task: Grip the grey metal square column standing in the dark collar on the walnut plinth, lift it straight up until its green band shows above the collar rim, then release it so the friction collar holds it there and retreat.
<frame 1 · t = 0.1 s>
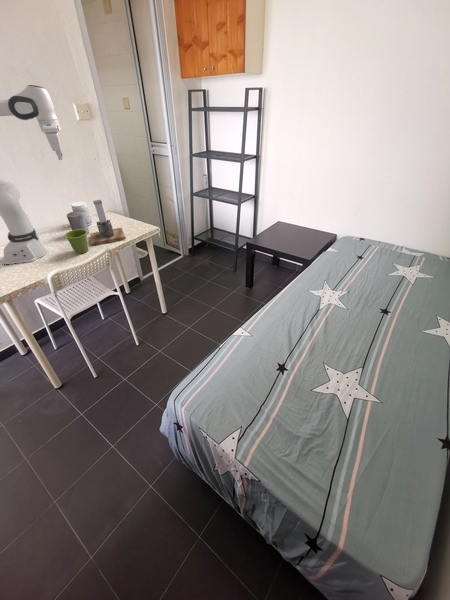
hand: (60, 158, 145), 48 cm above the table, fingers open, 8 cm apart
stand: (108, 237, 180), on the table
supplement tub: (85, 224, 200), on the table
column: (102, 218, 173), point 13 cm above the table, slide at 0.0 cm
plant pot: (82, 251, 166), on the table
pillar candle: (82, 234, 187), on the table
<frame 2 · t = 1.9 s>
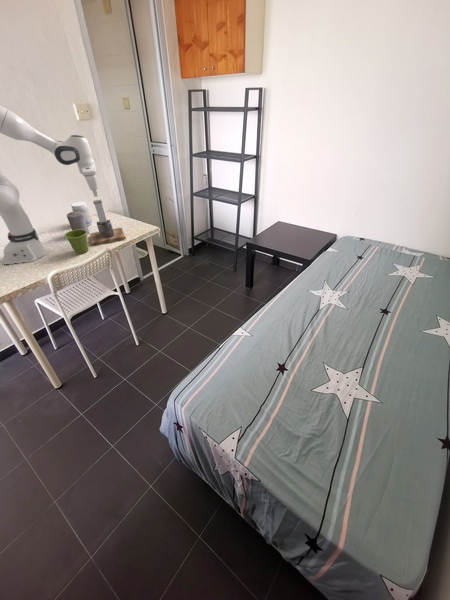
hand: (95, 194, 164), 27 cm above the table, fingers open, 8 cm apart
nothing on the table moved.
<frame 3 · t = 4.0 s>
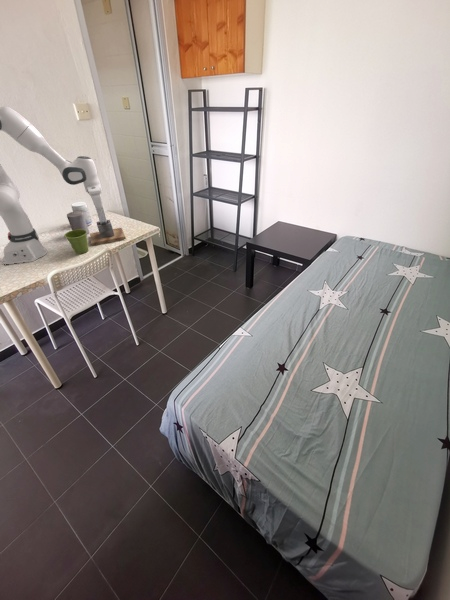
hand: (100, 211, 170), 17 cm above the table, fingers closed on column, 4 cm apart
column: (102, 218, 173), point 13 cm above the table, slide at 0.0 cm, touching gripper
everything else where it was.
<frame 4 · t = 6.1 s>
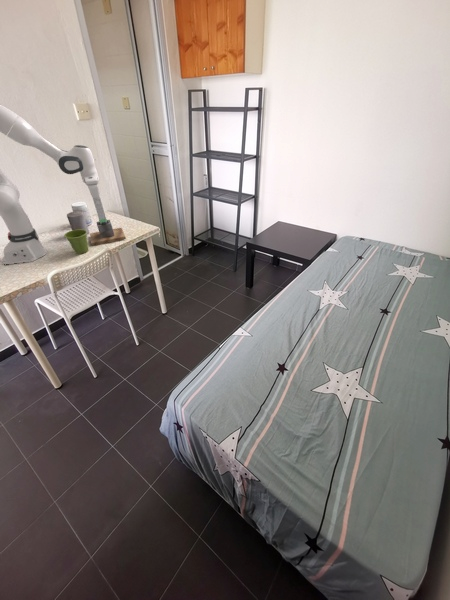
hand: (97, 202, 167), 22 cm above the table, fingers closed on column, 4 cm apart
column: (99, 209, 170), point 18 cm above the table, slide at 5.3 cm, touching gripper
everything else where it was.
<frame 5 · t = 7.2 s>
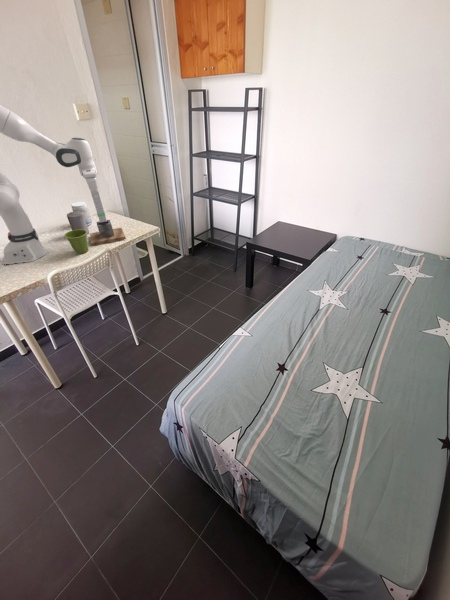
hand: (95, 196, 165), 26 cm above the table, fingers closed on column, 4 cm apart
column: (98, 204, 168), point 21 cm above the table, slide at 8.8 cm, touching gripper
everything else where it was.
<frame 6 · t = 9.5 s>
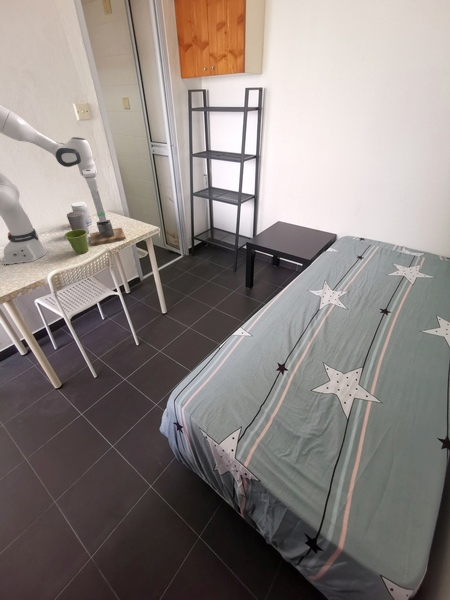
hand: (95, 196, 165), 26 cm above the table, fingers open, 8 cm apart
column: (98, 203, 168), point 22 cm above the table, slide at 8.9 cm
everything else where it was.
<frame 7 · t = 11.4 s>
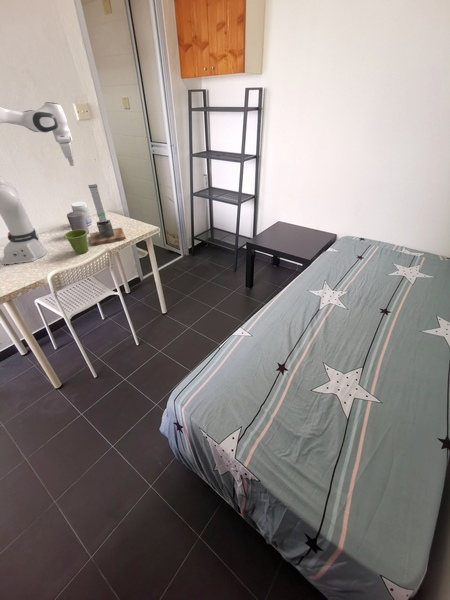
hand: (72, 164, 166), 41 cm above the table, fingers open, 8 cm apart
nothing on the table moved.
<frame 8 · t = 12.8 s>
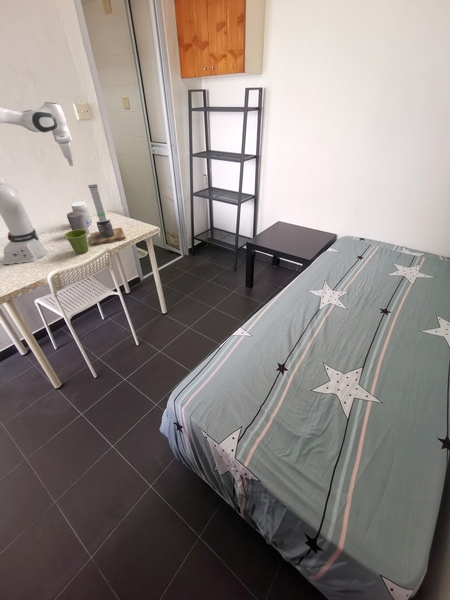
hand: (71, 164, 167), 41 cm above the table, fingers open, 8 cm apart
nothing on the table moved.
at the end: column slide at 8.9 cm; the gripper is holding nothing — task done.
